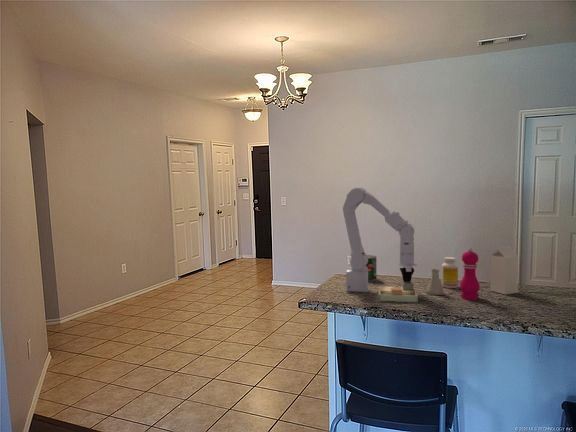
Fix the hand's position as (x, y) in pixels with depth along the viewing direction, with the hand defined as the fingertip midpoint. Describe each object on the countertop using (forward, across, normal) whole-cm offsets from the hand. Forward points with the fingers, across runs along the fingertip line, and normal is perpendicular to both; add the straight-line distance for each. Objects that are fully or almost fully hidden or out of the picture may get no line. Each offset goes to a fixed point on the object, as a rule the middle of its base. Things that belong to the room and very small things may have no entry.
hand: (406, 285), depth 172 cm
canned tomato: (+3, +25, +15) cm, 30 cm away
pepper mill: (+3, -5, -24) cm, 24 cm away
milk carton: (+3, +6, -40) cm, 40 cm away
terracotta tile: (+1, -10, +5) cm, 12 cm away
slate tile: (+1, -3, 0) cm, 3 cm away
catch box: (+3, -11, +5) cm, 12 cm away
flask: (+3, +1, -12) cm, 12 cm away
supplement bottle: (+3, +13, -20) cm, 24 cm away
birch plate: (+3, -4, +4) cm, 7 cm away
